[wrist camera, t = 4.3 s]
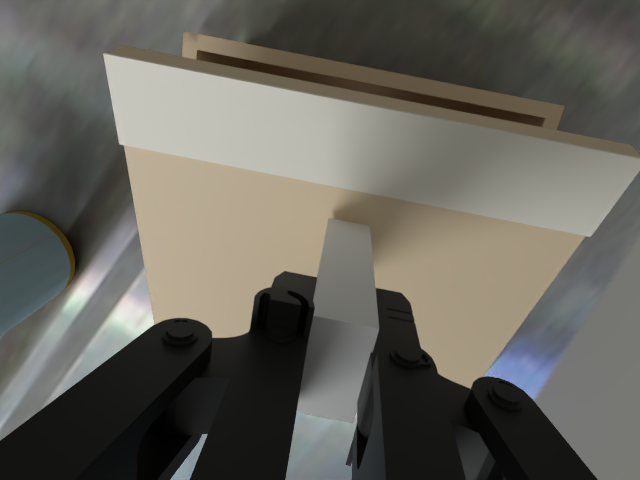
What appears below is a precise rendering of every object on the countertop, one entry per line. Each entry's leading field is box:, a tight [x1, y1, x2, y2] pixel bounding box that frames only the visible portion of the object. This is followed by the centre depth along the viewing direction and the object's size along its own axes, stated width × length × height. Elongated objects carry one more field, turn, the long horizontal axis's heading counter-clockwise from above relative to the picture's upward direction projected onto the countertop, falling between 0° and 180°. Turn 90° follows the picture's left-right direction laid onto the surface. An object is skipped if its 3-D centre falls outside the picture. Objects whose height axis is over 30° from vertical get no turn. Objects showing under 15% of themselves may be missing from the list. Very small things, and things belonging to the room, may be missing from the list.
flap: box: [103, 45, 640, 389], centre depth 18 cm, size 14×16×1 cm
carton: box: [182, 31, 565, 130], centre depth 25 cm, size 14×16×10 cm
